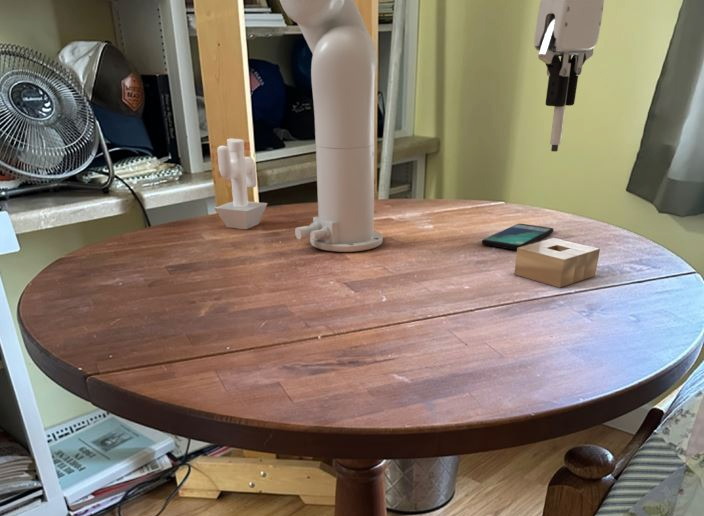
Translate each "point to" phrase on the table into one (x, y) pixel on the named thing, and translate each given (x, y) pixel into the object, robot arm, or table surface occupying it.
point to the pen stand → (556, 262)
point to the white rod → (558, 122)
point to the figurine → (238, 186)
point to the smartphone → (517, 236)
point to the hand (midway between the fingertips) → (559, 104)
